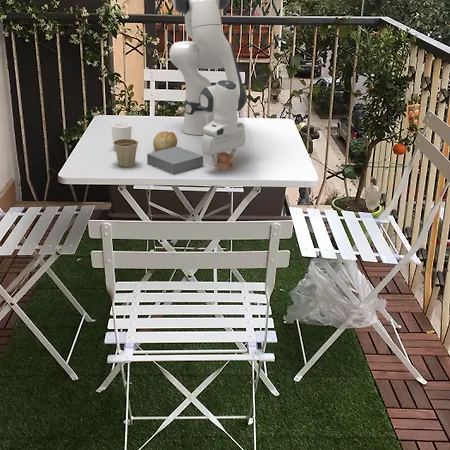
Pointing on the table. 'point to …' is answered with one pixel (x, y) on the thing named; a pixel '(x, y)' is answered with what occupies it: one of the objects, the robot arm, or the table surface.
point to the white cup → (121, 131)
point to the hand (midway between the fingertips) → (223, 161)
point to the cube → (224, 160)
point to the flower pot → (125, 151)
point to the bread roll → (164, 141)
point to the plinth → (175, 160)
